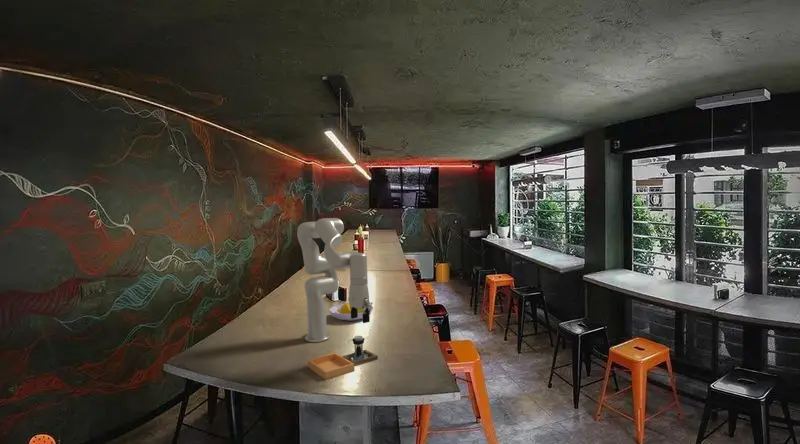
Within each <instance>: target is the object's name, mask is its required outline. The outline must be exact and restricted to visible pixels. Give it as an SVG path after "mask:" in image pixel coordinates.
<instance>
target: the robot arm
mask: <svg viewBox="0 0 800 444" xmlns="http://www.w3.org/2000/svg"><path fill="white" fill-rule="evenodd" d="M344 229H345V225H344V223H343V221H342V220H341V219H340V218H338V217H329V218H328V217H325V218H319V219H317V220H316V221H307V222H302V223H300V224H299V225H298V226H297V231H296V235H297V240H298V242H299V245H300V247H301V252H302V257H303V265H304V270H305V273H306V274H308V275H309V276H310V275H311V276H312V275H318V276H314V277H310V278H308V279H307V280H305V282H304V292H305V297H306V308H307V309H306V310H307V312H306V313H307V315H306V316H307V329H306V330H307V335H305V336H304V340H305V341H306V342H310V343H321V342H325V341H328V340H329V339H330V338H331V335H330V334H329V333H328V332H327V331H328V330H327V326H328V325H327V324H328V323H327V302H326V301H325V299H324V298H323V296H324V295H329V294H333V293H336V292H337V291H338V290H339V278H338V270H346V269H349V280H350V281H349V288H348V289H349V292H348V303H349V305H350V309H351V318H352V319H353V318H357V317H358V313H357V309H362V311H363V313H364V314H363V318H362V324H366V323H370V316H371V315H369V313H370V310H371V306H372V305H373V304H371V302H370V293H369V285H368V284H369V283H368V258H367V257H368V255H367V254H366V253H364V252H358V251H354V250H353V251H341V252H337V251H335V249H337V248H338V247H339V246H340V245H341V244H342V241H343V236H342V234H343V232H344ZM314 239H321V240H322V241H323V243H324V249H323V252H324V253H323V255H321V253H320V248H319V245H318V243H316V241H315V240H314ZM321 274H322V276H319V275H321ZM323 274H324V275H323ZM372 307H373V306H372ZM356 308H357V309H356ZM365 308H366V310H365Z"/></svg>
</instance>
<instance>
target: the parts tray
mask: <svg viewBox="0 0 800 444" xmlns="http://www.w3.org/2000/svg"><path fill="white" fill-rule="evenodd" d="M307 367H308V368H309V370H311V371H312V372H314V373H315V374H317V375H318V376H320V377H321V378H323V379H324V380H325V381H327V380H331V379H333V378H336V377H340V376H343V375H346V374H349V373H353V372H355V371H356V369H355V366H354V363H352V362H350V361H349V360H347V359H345V358H344V357H343V355H342V356H341V354H338V353H336V352H333V353H330V354H326V355H322V356H318V357H315V358H311V359H308V360H307Z"/></svg>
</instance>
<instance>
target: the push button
mask: <svg viewBox="0 0 800 444" xmlns="http://www.w3.org/2000/svg"><path fill="white" fill-rule="evenodd" d="M351 340H352V343H353V344H354V352H353V358H352V359H353V360H354V361H358V360H361V359H365V358H368V356H367V355H365V354H364V353H363V350H364V348H363V347H364V345H363V344H364V343H365V338H364V337H363V336H362V335H356V336H354V338H352V339H351Z"/></svg>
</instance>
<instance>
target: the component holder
mask: <svg viewBox="0 0 800 444" xmlns="http://www.w3.org/2000/svg"><path fill="white" fill-rule="evenodd" d="M353 353H354V352H353ZM353 353H349V354H345V355H342V357H344V358H345V359H347V360H349V361H350V362H352V363H354V367H357V366H361V365H363V364H366V363H370V362H373V361H376V360H378V359H379V356H378V355H377V354H375V353H373V352H371V351H369V350H367V349H363V353H364V355H366V357H367V358H364V359H361V360H357V361H354V359H353Z"/></svg>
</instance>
